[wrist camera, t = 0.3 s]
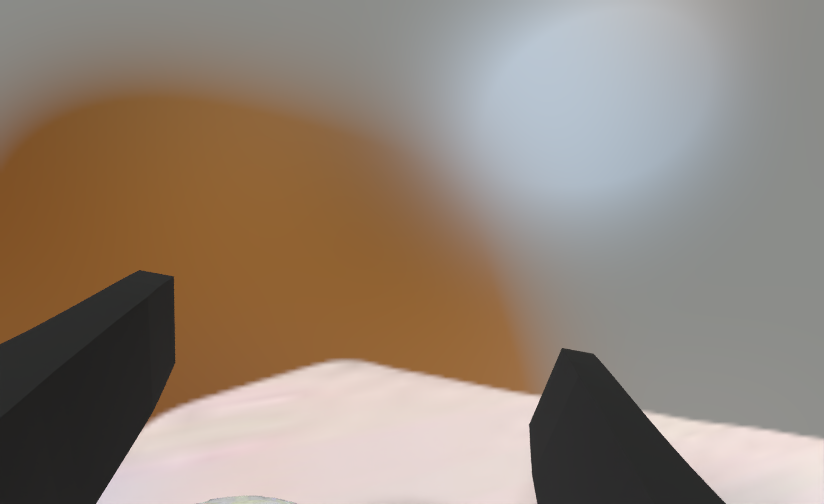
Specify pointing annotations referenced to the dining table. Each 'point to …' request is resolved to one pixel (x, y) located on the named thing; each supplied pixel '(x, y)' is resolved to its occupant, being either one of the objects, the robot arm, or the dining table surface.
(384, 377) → the dining table surface
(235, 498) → the teacup
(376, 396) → the dining table surface
